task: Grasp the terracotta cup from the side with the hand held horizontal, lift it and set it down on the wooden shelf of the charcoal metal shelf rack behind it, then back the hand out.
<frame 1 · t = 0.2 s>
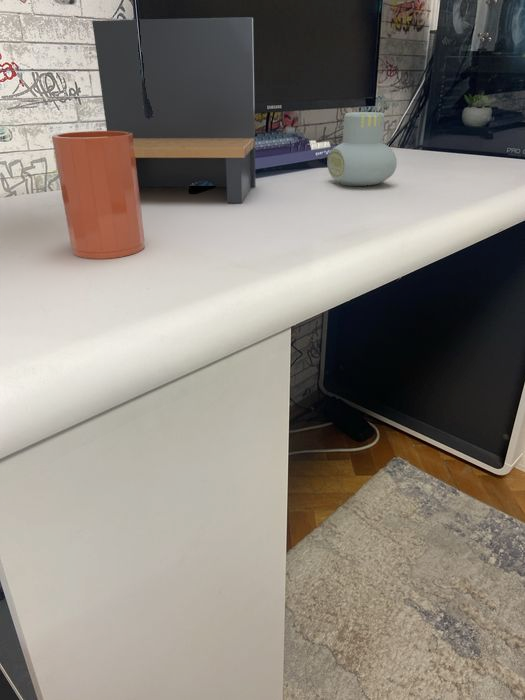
air freshener: (359, 184, 83), on the table
cup: (109, 248, 53), on the table
shelf rack: (174, 194, 77), on the table
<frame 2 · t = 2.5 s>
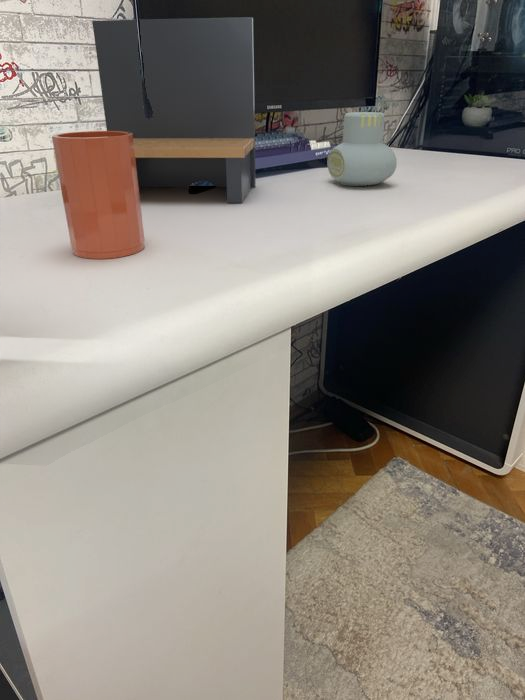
nothing on the table moved.
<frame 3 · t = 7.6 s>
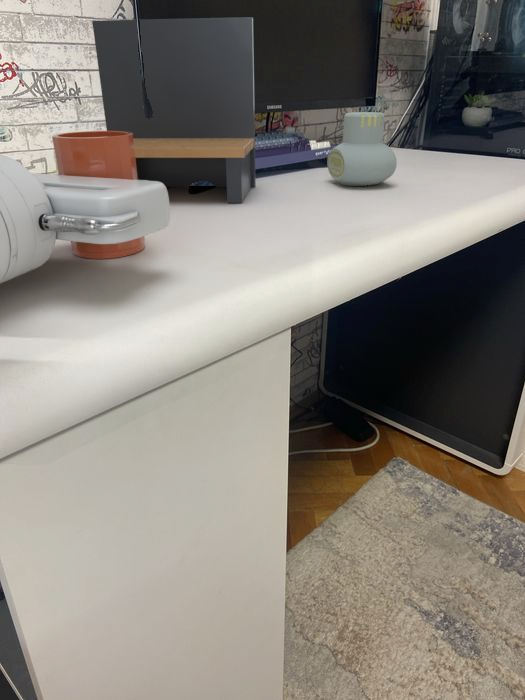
hand: (106, 186, 51), 6 cm above the table, tool horizontal, fingers closed on cup, 7 cm apart
cup: (109, 248, 53), on the table, touching gripper
everything else where it was.
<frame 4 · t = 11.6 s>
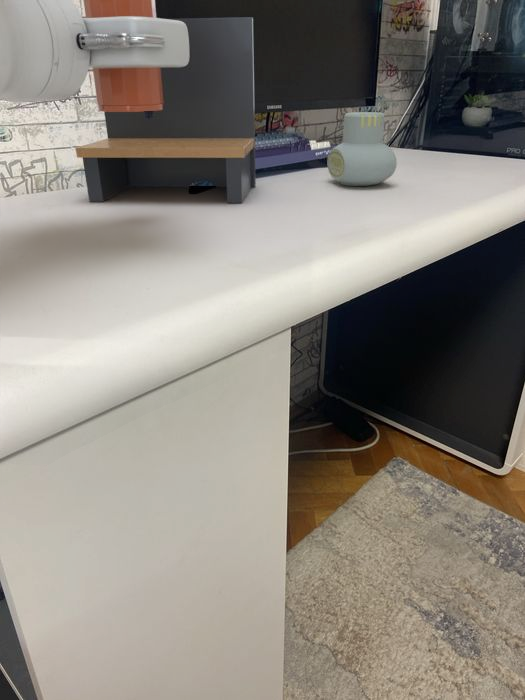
hand: (129, 49, 56), 18 cm above the table, tool horizontal, fingers closed on cup, 7 cm apart
cup: (131, 110, 58), point 12 cm above the table, touching gripper
everything else where it was.
when the fingers open (13 cm above the table, at t = 15.9 s): cup stays where it is, resting on shelf rack.
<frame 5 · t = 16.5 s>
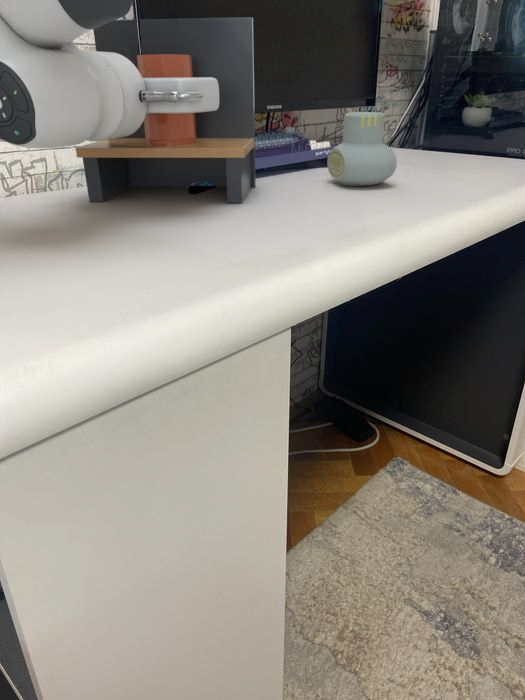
hand: (168, 92, 71), 13 cm above the table, tool horizontal, fingers open, 8 cm apart
cup: (171, 142, 73), point 7 cm above the table, touching shelf rack
everything else where it was.
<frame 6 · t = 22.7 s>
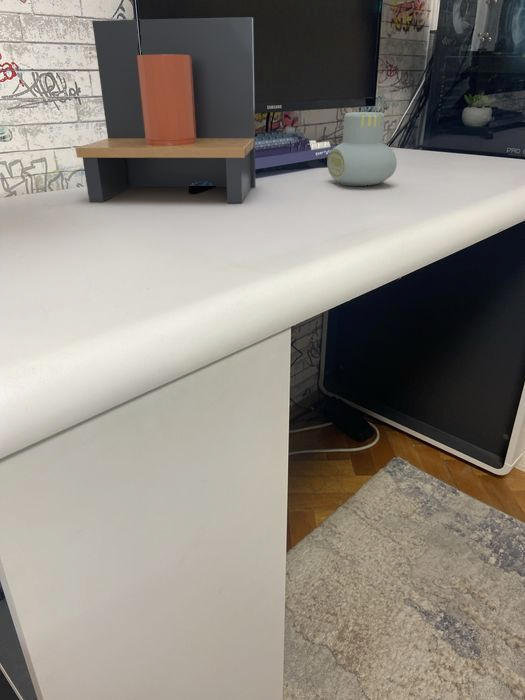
nothing on the table moved.
at the end: cup inside the target area on the shelf rack (0.2 cm from its centre), point 7.0 cm above the shelf rack's base; cup tilted 0°; the gripper is holding nothing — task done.
